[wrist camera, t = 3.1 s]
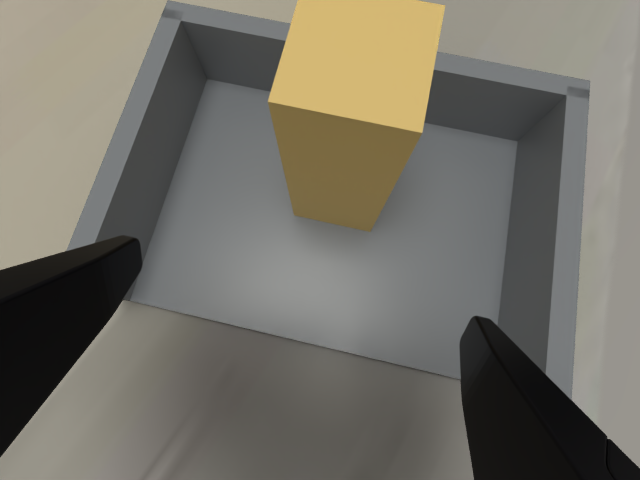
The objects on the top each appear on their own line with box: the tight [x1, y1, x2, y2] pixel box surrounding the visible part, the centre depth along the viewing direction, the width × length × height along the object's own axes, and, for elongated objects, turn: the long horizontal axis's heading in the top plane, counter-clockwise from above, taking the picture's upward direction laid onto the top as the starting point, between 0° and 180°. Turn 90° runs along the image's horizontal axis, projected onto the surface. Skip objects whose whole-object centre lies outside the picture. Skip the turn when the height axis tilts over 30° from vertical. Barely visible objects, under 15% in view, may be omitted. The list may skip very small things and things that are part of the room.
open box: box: [66, 0, 590, 400], centre depth 21 cm, size 17×24×6 cm
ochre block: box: [268, 0, 445, 232], centre depth 18 cm, size 5×5×12 cm
